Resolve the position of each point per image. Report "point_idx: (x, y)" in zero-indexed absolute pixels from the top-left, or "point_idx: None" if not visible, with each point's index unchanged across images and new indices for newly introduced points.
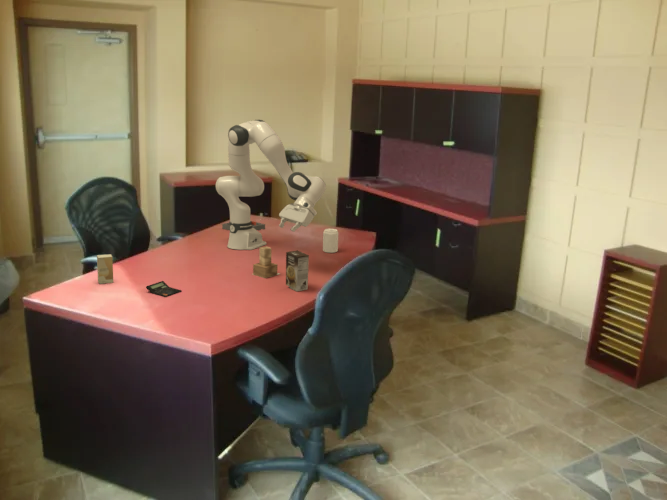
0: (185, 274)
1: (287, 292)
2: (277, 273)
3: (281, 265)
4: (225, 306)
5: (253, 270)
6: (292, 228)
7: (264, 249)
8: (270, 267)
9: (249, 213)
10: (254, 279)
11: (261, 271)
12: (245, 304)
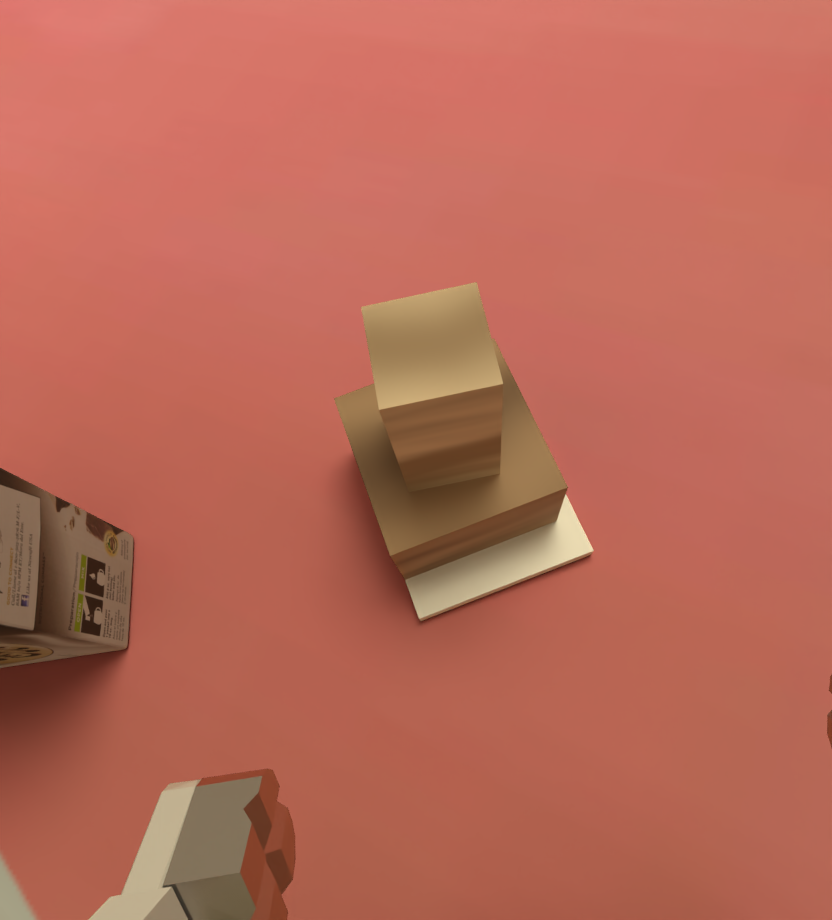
0: (708, 30)
1: None
2: (439, 596)
3: (768, 802)
4: (47, 111)
5: None
6: (170, 815)
7: (363, 310)
8: (358, 465)
9: None
10: None
11: None
12: (5, 196)
